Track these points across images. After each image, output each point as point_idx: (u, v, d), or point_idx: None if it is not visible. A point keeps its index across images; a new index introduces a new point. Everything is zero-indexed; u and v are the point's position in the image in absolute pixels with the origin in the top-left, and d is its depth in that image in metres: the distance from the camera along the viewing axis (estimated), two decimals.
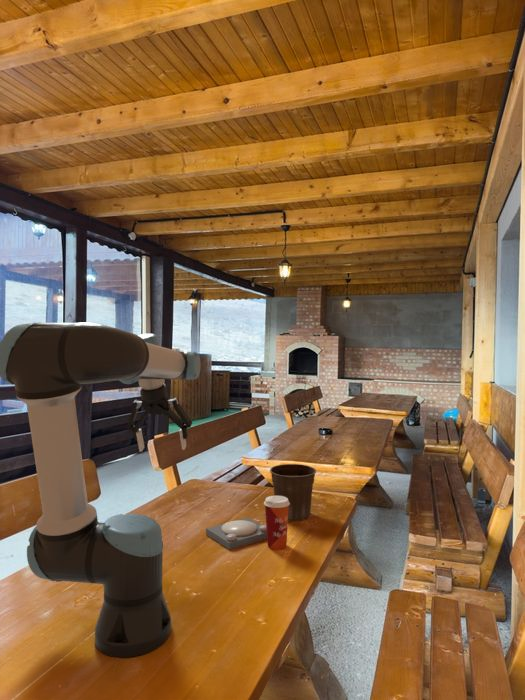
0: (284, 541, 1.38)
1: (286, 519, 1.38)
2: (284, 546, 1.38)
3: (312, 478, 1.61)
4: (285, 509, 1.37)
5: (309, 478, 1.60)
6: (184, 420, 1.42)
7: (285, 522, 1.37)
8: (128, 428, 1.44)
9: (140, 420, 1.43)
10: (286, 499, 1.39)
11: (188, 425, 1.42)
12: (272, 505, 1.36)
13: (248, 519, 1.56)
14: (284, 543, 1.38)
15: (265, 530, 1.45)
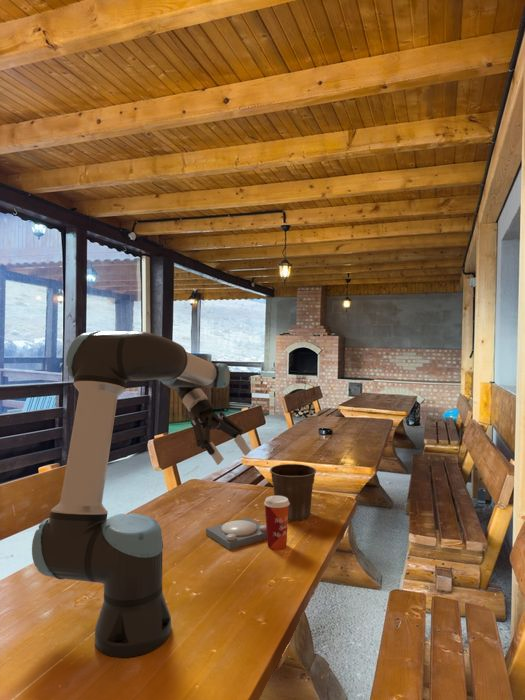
0: (284, 541, 1.38)
1: (286, 519, 1.38)
2: (284, 546, 1.38)
3: (312, 478, 1.61)
4: (285, 509, 1.37)
5: (309, 478, 1.60)
6: (236, 426, 1.56)
7: (285, 522, 1.37)
8: (202, 439, 1.41)
9: (207, 431, 1.46)
10: (286, 499, 1.39)
11: (241, 429, 1.57)
12: (272, 505, 1.36)
13: (248, 519, 1.56)
14: (284, 543, 1.38)
15: (265, 530, 1.45)
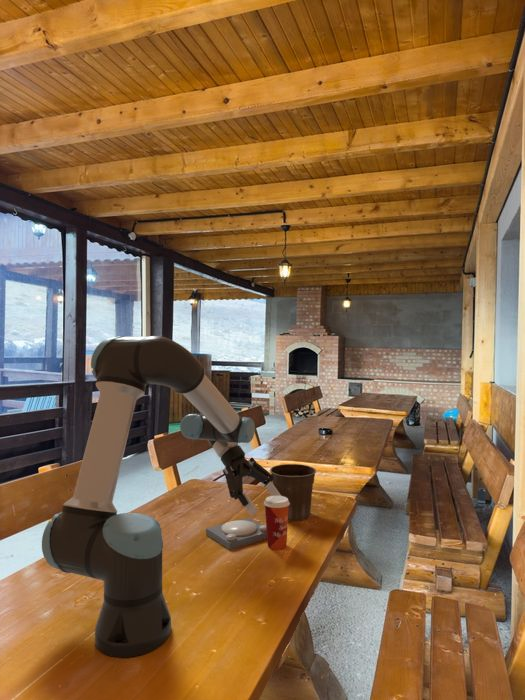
0: (284, 541, 1.38)
1: (286, 519, 1.38)
2: (284, 546, 1.38)
3: (312, 478, 1.61)
4: (285, 509, 1.37)
5: (309, 478, 1.60)
6: (267, 472, 1.53)
7: (285, 522, 1.37)
8: (236, 490, 1.38)
9: (240, 480, 1.42)
10: (286, 499, 1.39)
11: (272, 475, 1.53)
12: (272, 505, 1.36)
13: (248, 519, 1.56)
14: (284, 543, 1.38)
15: (265, 530, 1.45)
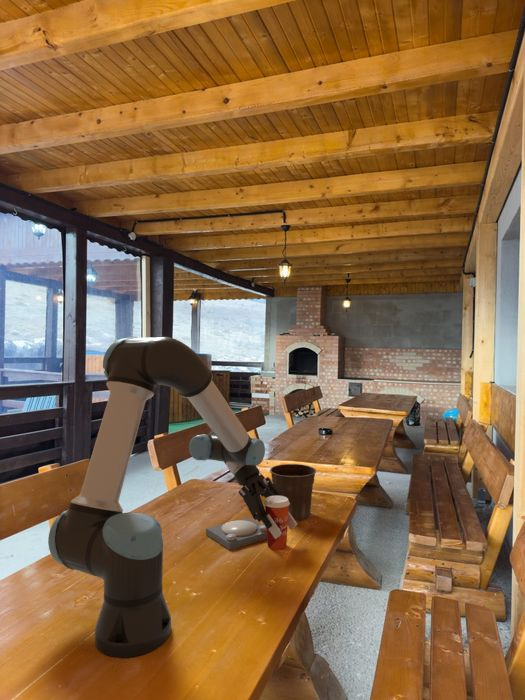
0: (284, 541, 1.38)
1: (286, 519, 1.38)
2: (284, 546, 1.38)
3: (312, 478, 1.61)
4: (285, 509, 1.37)
5: (309, 478, 1.60)
6: (281, 495, 1.47)
7: (285, 522, 1.37)
8: (259, 512, 1.35)
9: (260, 500, 1.39)
10: (286, 499, 1.39)
11: None
12: (272, 505, 1.36)
13: (248, 519, 1.56)
14: (284, 543, 1.38)
15: (265, 530, 1.45)
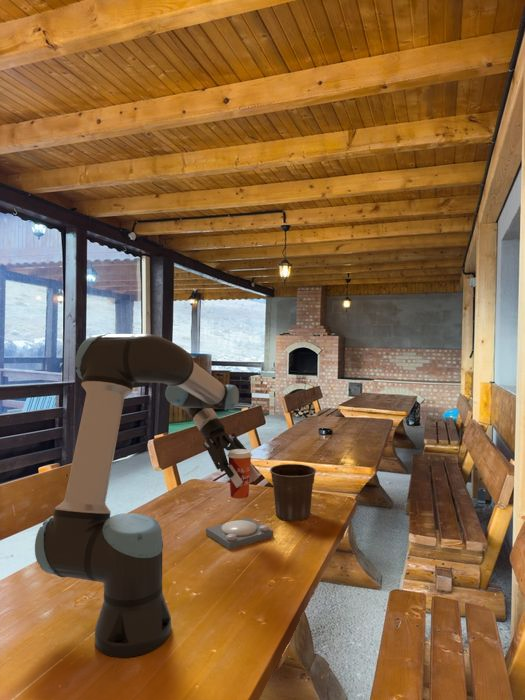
0: (246, 491, 1.45)
1: (248, 470, 1.45)
2: (246, 495, 1.45)
3: (312, 478, 1.61)
4: (246, 460, 1.44)
5: (309, 478, 1.60)
6: None
7: (247, 472, 1.45)
8: (222, 462, 1.42)
9: (223, 452, 1.46)
10: (248, 451, 1.47)
11: None
12: (234, 456, 1.44)
13: (248, 519, 1.56)
14: (246, 492, 1.45)
15: (265, 530, 1.45)
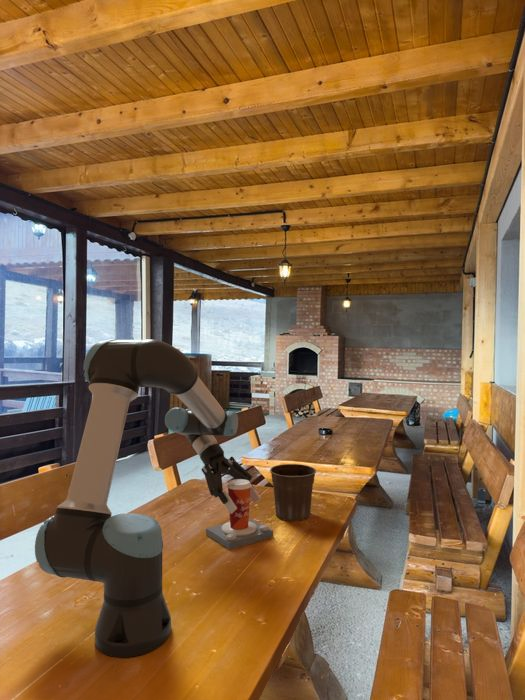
0: (245, 521, 1.45)
1: (247, 501, 1.46)
2: (246, 526, 1.46)
3: (312, 478, 1.61)
4: (246, 491, 1.45)
5: (309, 478, 1.60)
6: (245, 472, 1.56)
7: (246, 503, 1.45)
8: (216, 488, 1.41)
9: (219, 478, 1.46)
10: (248, 482, 1.47)
11: (250, 475, 1.55)
12: (234, 487, 1.44)
13: None
14: (245, 523, 1.46)
15: (265, 530, 1.45)
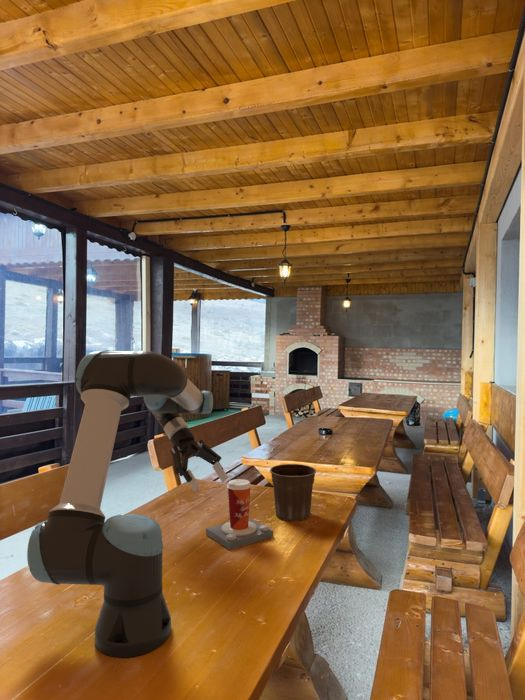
0: (245, 522, 1.45)
1: (247, 501, 1.46)
2: (245, 526, 1.46)
3: (312, 478, 1.61)
4: (246, 492, 1.45)
5: (309, 478, 1.60)
6: (215, 453, 1.64)
7: (246, 504, 1.45)
8: (180, 467, 1.48)
9: (186, 459, 1.53)
10: (248, 482, 1.47)
11: (219, 457, 1.64)
12: (234, 487, 1.44)
13: None
14: (245, 523, 1.46)
15: (265, 530, 1.45)
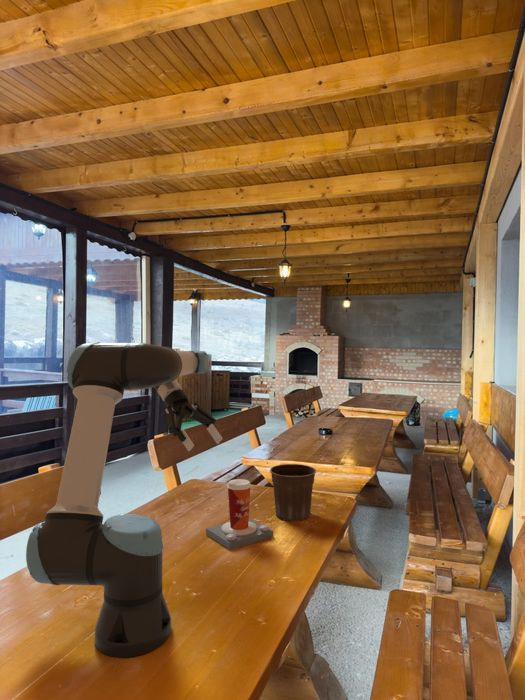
0: (245, 522, 1.45)
1: (247, 501, 1.46)
2: (245, 526, 1.46)
3: (312, 478, 1.61)
4: (246, 491, 1.45)
5: (309, 478, 1.60)
6: (209, 416, 1.62)
7: (246, 504, 1.45)
8: (174, 427, 1.47)
9: (180, 419, 1.51)
10: (248, 482, 1.47)
11: (214, 419, 1.62)
12: (234, 487, 1.44)
13: None
14: (245, 523, 1.46)
15: (265, 530, 1.45)
